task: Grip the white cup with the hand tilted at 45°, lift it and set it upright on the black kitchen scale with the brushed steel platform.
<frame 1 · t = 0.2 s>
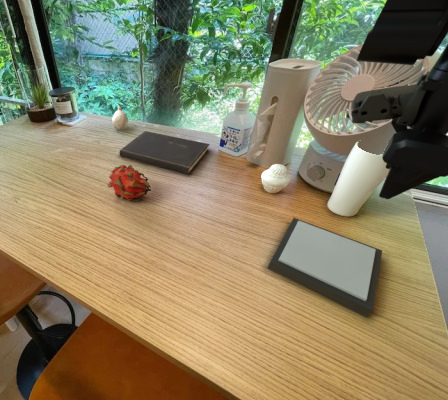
hand: (386, 182, 38), 15 cm above the table, tool pointing down, fingers open, 9 cm apart
scale: (321, 263, 45), on the table
dragon fruit: (130, 195, 65), on the table
white cup: (340, 210, 55), on the table
garlic bulb: (120, 129, 97), on the table
muffin: (271, 190, 63), on the table
hardcover book: (163, 154, 80), on the table
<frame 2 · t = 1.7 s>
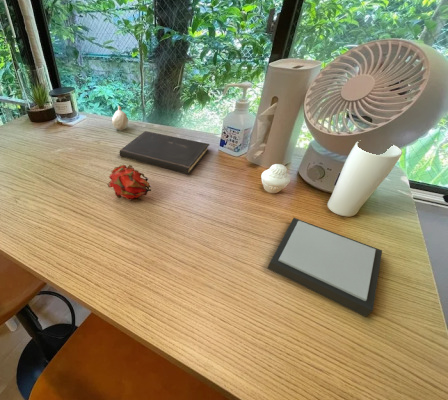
nothing on the table moved.
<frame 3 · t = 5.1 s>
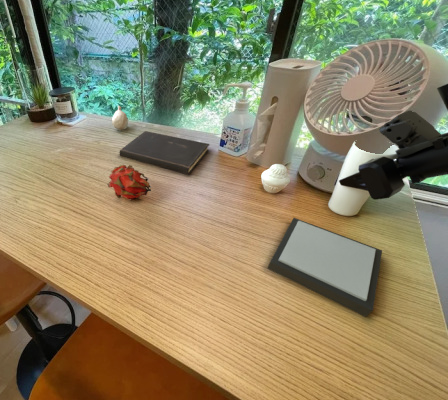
hand: (350, 177, 52), 8 cm above the table, tool tilted 45°, fingers closed on white cup, 6 cm apart
white cup: (341, 209, 55), on the table, touching gripper
everything else where it was.
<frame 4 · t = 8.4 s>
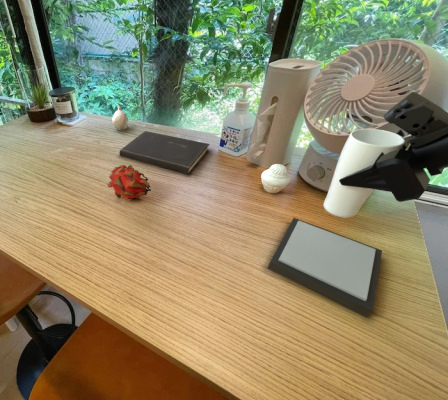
hand: (347, 174, 45), 12 cm above the table, tool tilted 45°, fingers closed on white cup, 6 cm apart
white cup: (338, 210, 49), point 5 cm above the table, touching gripper
everything else where it was.
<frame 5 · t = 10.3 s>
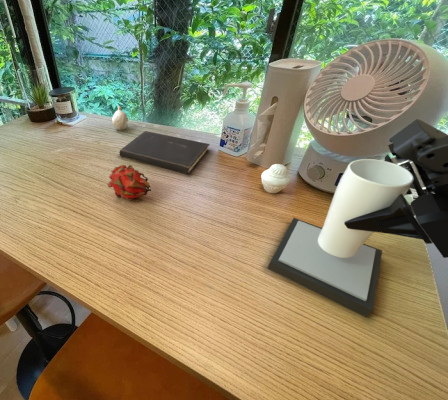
hand: (344, 211, 38), 12 cm above the table, tool tilted 45°, fingers closed on white cup, 6 cm apart
white cup: (334, 247, 43), point 4 cm above the table, touching gripper
everything else where it was.
when the fingers open (10 cm above the table, at t = 11.6 s): white cup stays where it is, resting on scale.
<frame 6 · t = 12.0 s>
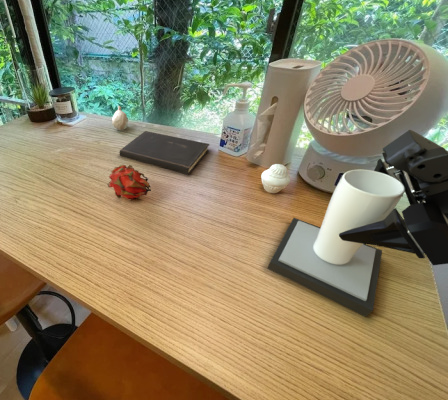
hand: (338, 217, 39), 11 cm above the table, tool tilted 45°, fingers open, 9 cm apart
white cup: (329, 254, 44), point 2 cm above the table, touching scale
everything else where it was.
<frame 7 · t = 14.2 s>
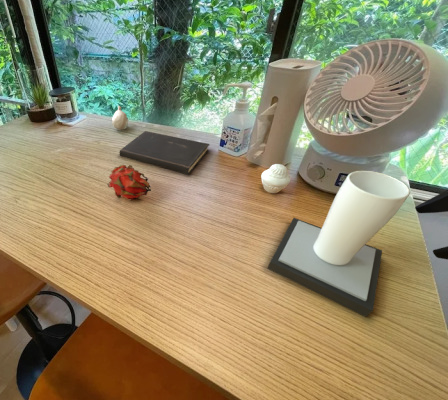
hand: (424, 230, 35), 12 cm above the table, tool tilted 45°, fingers open, 9 cm apart
nothing on the table moved.
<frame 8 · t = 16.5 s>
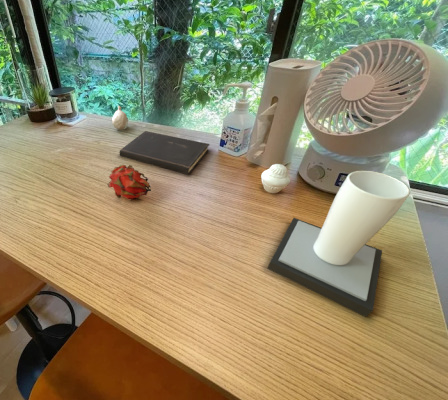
nothing on the table moved.
at the end: white cup inside the target area on the scale (0.4 cm from its centre), point 2.3 cm above the scale's base; white cup tilted 0°; the gripper is holding nothing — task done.
